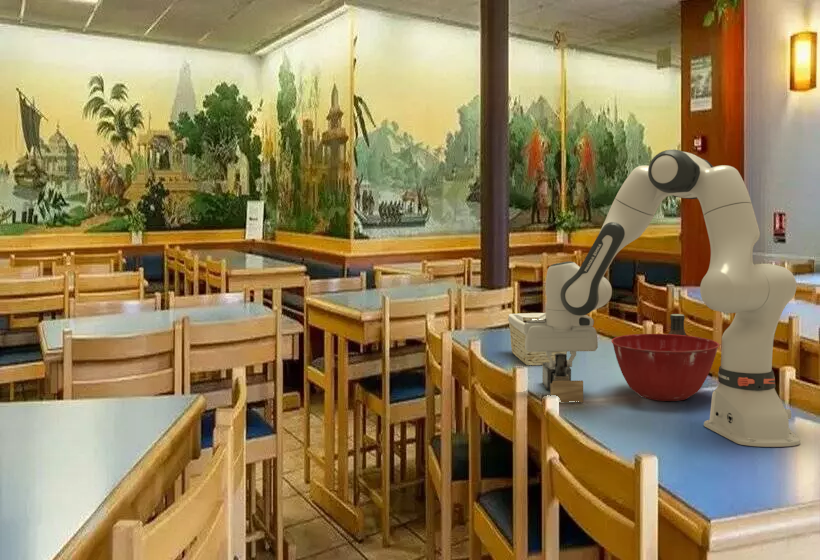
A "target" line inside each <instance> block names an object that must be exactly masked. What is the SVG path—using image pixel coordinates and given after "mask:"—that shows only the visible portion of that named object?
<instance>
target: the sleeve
mask: <svg viewBox="0 0 820 560" xmlns="http://www.w3.org/2000/svg"><path fill="white" fill-rule="evenodd" d="M571 368H572V367H567V374H568V376H569V381H572V369H571ZM551 372H555V367H550V362H543V365H542V385H543V384H544V385H543V386H544V388H545V387H546V388H545V390H546V391H547V390H550V383H551Z"/></svg>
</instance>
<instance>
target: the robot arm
mask: <svg viewBox="0 0 820 560" xmlns="http://www.w3.org/2000/svg"><path fill="white" fill-rule="evenodd" d="M619 188H620V189H619V190H618V192H617V194H616V196H615V197H614V200H613V201H612V204H611V206H610V207H609V210H608V213H607V215H606V217H605V220H604V222H603V224H602V227H601V229H600V231H599V234H598V235H597V236H596V239H595V240H594V241H593V244H592V245H591V247H590V249H589V251H588V253H587V255H586V256H585V258H584V260H583V261H582V264H581V266H580V265H578V264H577V263H576V262H574V261H562V262H557V263H553V264H551V265H550V266H549V267H548V268H547V272H546V280H545V296H546V303H545V312H544V313H545V316H546V317H545V319H530V320H529V321H525V322H524V323H525V325H524V331H525V333H526V339H525V348H526V349H527V350H528V351H529V352H546V355H547V357H548V358H549V360H550V367H556V365H555V364H556V361H555V360H552V358H551V357H550V355H552V352H564V351H567V352H569V354H570V357H569V358H568V359H567V367H570V368H572V367H573V361H574V360H575V358H576V356H577V352H596V351H597V349H598V347H599V346H598V345H599V342H598V334H597V330H596V328H595V327H594V324H595V323H594V322H595V320H594V318H592V317H591V316H589V315H588V314H590V313H591V312H593V311H595V310H598V309H601V308H602V307H604V306H605V305H607V304H608V303H609V302H610V300H611V298H612V296H613V287H612V284H611V283H610V280H608V278H606V277H605V274H606V273H607V271H608V269H609V267H610V265H611V264H612V263H613V260H614V258H615V257H616V256H617V254H618V253H619V252H620V251H621V250H623V248H624V247H626V246H627V245H629V244H630V243H632V242H634V241H635V240H637V239H639V238H640V237H641V236H642V235H643V233H644V232H645V231H646V230H647V228H648V227H649V225H650V224H651V222H652V221H653V219H654V216H655V214H656V212H657V210H658V208H659V207H660V204H661V203H662V202H663V200H664V199H666V198H667V197H670V196H671V197H674V198H679V199H680V198H682V199H687V200H698V201H699V203H700V207H701V211H702V214H703V219H704V222H705V227H706V231H707V235H708V240H709V245H710V246H709V247H710V261H709V266H708V270H707V272H706V274H705V275H704V276H703V278H702V279H701V282H700V284H699V285H700V286H699V287H700V288H699V292H700V297H701V300H702V301H703V303H704V304H705V306H706V307H708V308H709V309H710V310H711V311H716V312H721V313H727V314H735V315H734V318H733V319H732V321H731V323H730V325H729V326H728V327H727V328H726V329H725V330H724V332H722V333H723V334H722V336H721V350H720V351H721V352H720V353H721V354H720V356H721V357H720V366H719V367H718V371H717V376H718V379H717V381H718V383H719V384H718V386H717V387H716V388H715V390H713V391H712V395H711V401H710V402H711V403H710V412H709V419H707V420H704V422H703V426H704V427H705V428H707V429H709V430H711V431H712V432H715V433H717V434H718V435H720V436H722V437H724V438H726V439H728V440H730V441H731V442H734V443H735V444H738V445H742V446H749V447H759V448H760V447H762V448H763V447H766V448H767V447H768V448H770V447H771V448H776V447H777V448H779V447H784V448H785V447H794V446H798V445H800V444H801V439H800V438H799V437H798V436H797V435H796V434H795V432H794V431H793V430H792V429H791V428H790V427H789V426H790V425H789V423H790V421H789V420H791V418H792V410H791V408H785V406H784V404H783V400H782V399H780V397H779V395H778V393H777V391H776V389H775V388H776V379H775V373H774V370H773V369H772V368H773V366H772V364H773V352H774V351H773V347H774V340H775V339H774V338H775V333H776V331H777V327H778V324H779V321H780V318H781V317H782V314H783V311H784V310H785V308H786V306H788V304H789V302H791V301H792V300H793V298H794V297H795V295H796V291H797V281H796V277H795V276H794V274H793V273H792V271H791V270H789V269H788V268H786V267H784V266H781V265H776V264H772V263H756V264H754V260H753V255H754V254H753V251H754V246H755V244H756V243H757V242H758V241H759V239H760V236H761V235H760V234H761V233H760V229H759V225H758V221H757V216H756V213H755V210H754V206H753V203H752V200H751V197H750V196H751V195H750V193H749V190H748V189H747V185H746V183H745V182H744V180H743V178H742V175H741V174H740V172H739V170H738V169H737V168H735V166H731V165H728V164H727V165H725V164H724V165H723V164H722V165H716V166H714V165H712V164H711V162H709V161H708V160H706V159H704V158H701V157H700V156H698V155H695V154H694V153H691V152H687V151H682V150H680V149H667V150H662V151H661V152H659V153H657V154H656V155H655V156H654V157H653V158H652V159H651V160H650V163H649V165H645V164H644V165H643V164H642V165H639V166H636V167H635V168H634V169H632V171H630V174H629V175H627V177H626V179H625V180H624V182H623V183H622V185H621V186H620V187H619Z"/></svg>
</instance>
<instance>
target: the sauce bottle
mask: <svg viewBox="0 0 820 560" xmlns="http://www.w3.org/2000/svg"><path fill="white" fill-rule="evenodd" d="M669 316H670V319H669V320H670V331H669V332H668V333H667V334H673V335H685V336H687V334H686V331H685V315H684V314H681V313H672V314H670V315H669Z"/></svg>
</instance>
